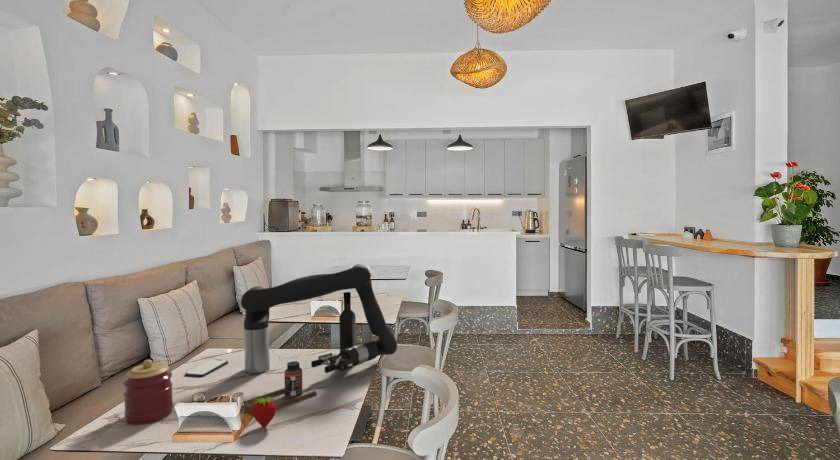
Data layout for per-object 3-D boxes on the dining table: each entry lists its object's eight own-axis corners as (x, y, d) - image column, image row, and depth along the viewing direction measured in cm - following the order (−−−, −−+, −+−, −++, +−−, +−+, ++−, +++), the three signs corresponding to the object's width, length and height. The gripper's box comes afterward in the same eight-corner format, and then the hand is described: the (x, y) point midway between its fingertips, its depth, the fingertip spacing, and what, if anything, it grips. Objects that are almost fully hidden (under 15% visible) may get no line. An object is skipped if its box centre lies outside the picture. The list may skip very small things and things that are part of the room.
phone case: (203, 379, 164) (229, 363, 179) (202, 375, 164) (229, 360, 179) (183, 377, 166) (211, 362, 181) (183, 373, 166) (211, 358, 181)
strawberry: (260, 420, 129) (259, 387, 129) (281, 423, 127) (280, 391, 126) (246, 429, 123) (246, 396, 123) (268, 433, 121) (267, 399, 121)
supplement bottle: (297, 399, 143) (296, 366, 143) (281, 398, 144) (280, 365, 144) (305, 392, 149) (305, 360, 148) (290, 391, 150) (289, 359, 150)
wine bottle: (344, 361, 179) (343, 291, 178) (357, 362, 178) (356, 291, 177) (339, 366, 174) (337, 293, 173) (352, 367, 173) (351, 294, 171)
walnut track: (242, 405, 139) (242, 401, 139) (299, 386, 154) (299, 382, 154) (258, 416, 131) (258, 412, 131) (316, 394, 147) (316, 391, 147)
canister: (143, 405, 140) (141, 352, 139) (182, 405, 140) (180, 352, 139) (113, 425, 127) (111, 367, 126) (156, 425, 127) (154, 367, 126)
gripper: (342, 342, 170) (307, 352, 158) (365, 350, 160) (329, 361, 149) (343, 361, 171) (307, 372, 159) (365, 369, 161) (330, 382, 149)
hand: (318, 367), depth 154 cm, fingers open, 8 cm apart
